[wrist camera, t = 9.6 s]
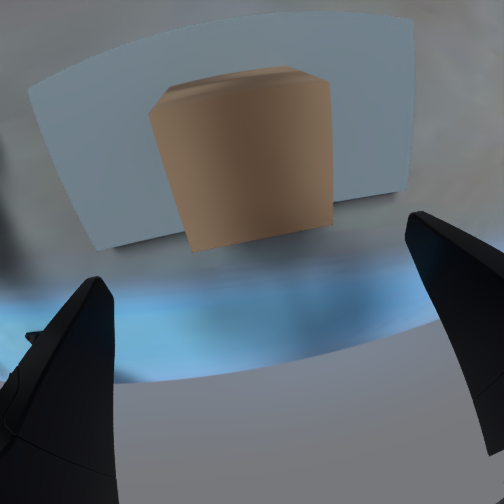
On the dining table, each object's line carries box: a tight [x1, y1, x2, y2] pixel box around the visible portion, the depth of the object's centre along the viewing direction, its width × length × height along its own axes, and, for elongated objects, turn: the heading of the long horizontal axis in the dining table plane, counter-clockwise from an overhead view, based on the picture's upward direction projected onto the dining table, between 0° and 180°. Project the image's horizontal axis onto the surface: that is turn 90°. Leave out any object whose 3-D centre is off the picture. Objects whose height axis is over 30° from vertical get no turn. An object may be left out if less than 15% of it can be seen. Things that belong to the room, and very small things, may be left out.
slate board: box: [27, 11, 415, 251], centre depth 16 cm, size 22×12×2 cm, turn 98°
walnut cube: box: [148, 66, 333, 252], centre depth 13 cm, size 6×6×6 cm
